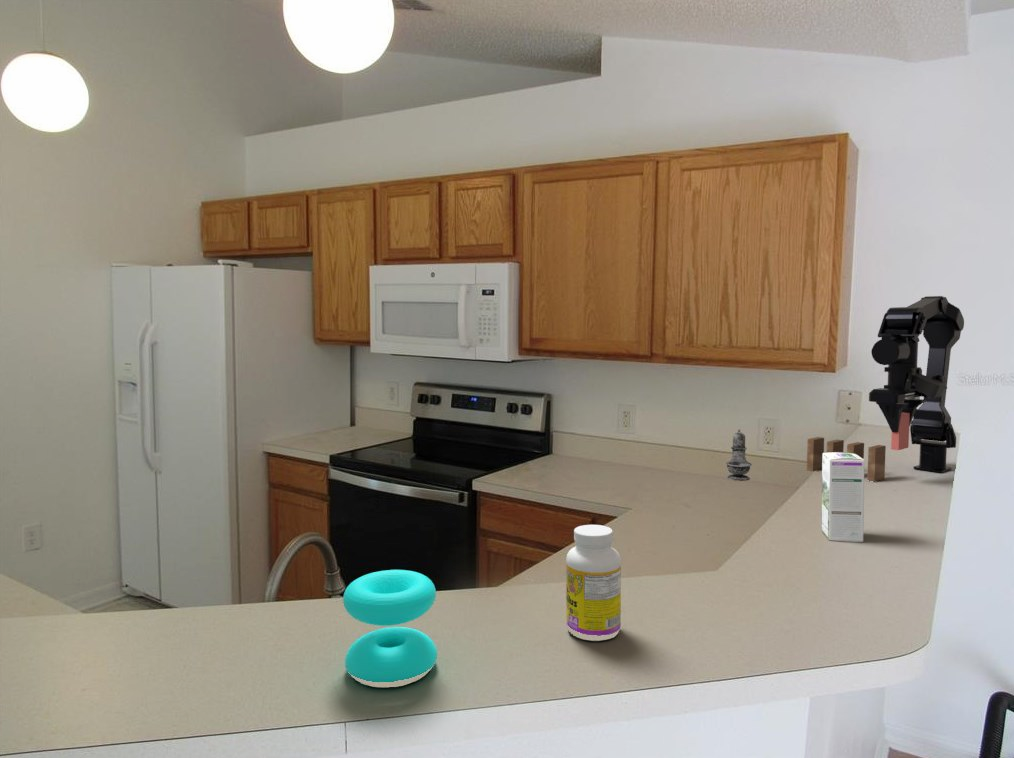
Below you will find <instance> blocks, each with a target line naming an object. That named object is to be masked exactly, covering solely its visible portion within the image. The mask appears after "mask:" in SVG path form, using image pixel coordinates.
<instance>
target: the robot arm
mask: <svg viewBox="0 0 1014 758" xmlns="http://www.w3.org/2000/svg"><path fill="white" fill-rule="evenodd" d="M964 326H965V318H964V316H963V313H962V312H961V310H960V308H959V307H957V306H955V305H954V304H952V303H951V302H949V301H948V299H947V297H946V296H943V295H933V296H932V295H931V296H929V295H928V296H924V297H921V298H920V300H918V301H916V302H914V303H912V304H910V305H907V306H900V307H898V306H897V307H889V308H888V309H887V311H886V312H885V313H884V314H883V318H882V320H881V324H880V327H879V330H878V333H877V338H881V339H879V340H877V341H876V342H875V343H874V344H873V346H872V349H871V350H870V351H871V356H872V359H873V360H874V362H876V363H877V364H879V365H882V366H886V367H884V371H883V372H884V373H887V384H885V385H883V387H880V388H879V387H878V388H873V389H872V390H871V391H869V392H868V401H869V402H873V403H875V404H876V405H878V407H879V409H880V410H881V412H882V414H883V416H884V418H885V420H886V423H887V424H888V426H889V428H890V430H891V433H892V432H895V433H897V432H898V429H899V424H900V418H901V413H902V412H903V413H910V420H909V433H910V440H911V445H919V462H918V465H915V466H912V467H913V469H914V470H921V471H927V472H934V473H938V474H939V473H940V474H942V473H944V472H945V473H946V472H947V471H951V470H952V467H950V466H947V454H948V453H947V449H953V448H954V449H955V448H957V447H956V446H957V435H956V433H955V429H954V427H953V425H952V417H951V415H950V413H949V412H948V411H949V410H948V409H947V408H946V399H947V397H946V396H947V391H948V390H947V389H948V379H949V371H950V361H951V353H952V352H951V351H952V348H953V347H954V345H955V344H957V342H958V341H959V340H960V338H961V334H962V331H963V330H964ZM920 335H923V338H924V339H925V341H926V343H927V344H928V356H927V365H926V371H925V372H926V373H925V374H923V369H922V368H921V367H919V366H918V356H919V355H918V354H919V353H918V352H919V351H918V349H919V342H920V338H919V336H920ZM921 397H923V398H922V399H921ZM918 407H919V408H918Z"/></svg>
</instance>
